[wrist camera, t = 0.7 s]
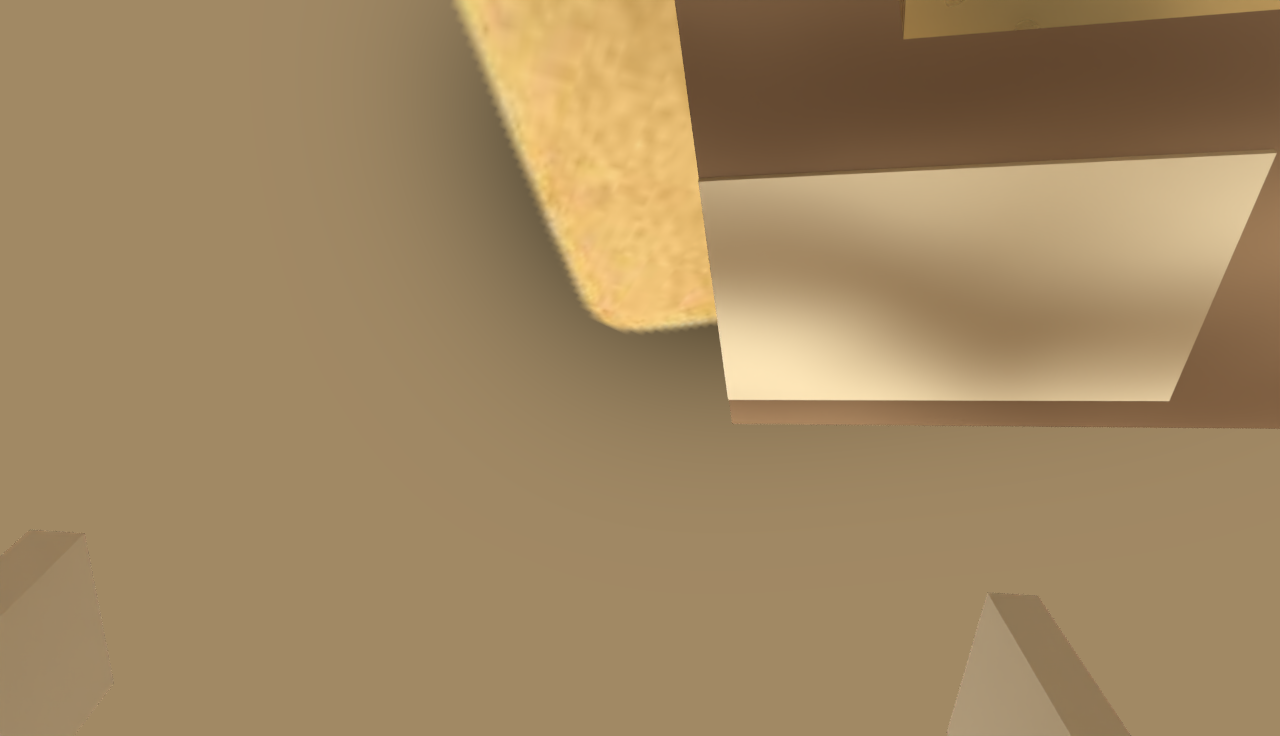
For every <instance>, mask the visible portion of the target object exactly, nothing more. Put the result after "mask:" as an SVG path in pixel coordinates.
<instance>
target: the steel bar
mask: <svg viewBox="0 0 1280 736" xmlns="http://www.w3.org/2000/svg"><path fill="white" fill-rule="evenodd" d="M899 5H900V13H901V22H902V31H903V39H913V38H926V37H939V36H951V35H964V34H976V33H989V32H1001V31H1014V30H1026V29H1039V28H1052V27H1064V26H1077V25H1089V24H1102V23H1114V22H1127V21H1139V20H1152V19H1164V18H1177V17H1190V16H1202V15H1215V14H1227V13H1240V12H1252V11H1265V10H1277V9H1280V0H899Z"/></svg>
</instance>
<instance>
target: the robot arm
mask: <svg viewBox="0 0 1280 736" xmlns="http://www.w3.org/2000/svg"><path fill="white" fill-rule="evenodd" d="M113 683H114V682H113V676H112V671H111V666H110V661H109V655H108V650H107V646H106V640H105V635H104V630H103V625H102V619H101V614H100V609H99V604H98V599H97V594H96V589H95V584H94V578H93V573H92V568H91V563H90V558H89V552H88V548H87V542H86V537H85V533H74V532H58V531H43V530H29V531H28V532H27V533H26V534H24V535H23V536H22V537H21V538H20V539H19V540H18V541H17V542H15V543H14V544H13V545H12V546H11V547H10V548H9V549H8V550H7V551H5V552H4V554H2V555H1V556H0V736H74V735H75V734H76V733H77V732H78V730H79V729H80V728H81V726H82V725H83V724H84V722H85V721H86V720H87V718H88V717H89V716H90V714H91V713H92V712H93V710H94V709H95V707H96V706H97V705H98V704H99V702H100V701H101V700H102V698H103V697H104V696H105V694H106V693H107V692H108V690H109V689H110V688H111V686H112V685H113ZM947 734H948V736H1131V735H1130V733H1129V732H1128V731H1127V729H1126V728H1125V726H1124V724H1123V723H1122V721H1121V720H1120V718H1119V717H1118V716H1117V714H1116V712H1115V711H1114V709H1113V708H1112V707H1111V705H1110V703H1109V702H1108V700H1107V699H1106V697H1105V696H1104V694H1103V693H1102V691H1101V690H1100V688H1099V687H1098V685H1097V684H1096V682H1095V681H1094V679H1093V678H1092V676H1091V675H1090V673H1089V672H1088V671H1087V669H1086V667H1085V666H1084V664H1083V663H1082V661H1081V660H1080V658H1079V657H1078V656H1077V654H1076V652H1075V651H1074V649H1073V648H1072V646H1071V645H1070V643H1069V642H1068V640H1067V639H1066V637H1065V636H1064V634H1063V633H1062V631H1061V630H1060V628H1059V627H1058V625H1057V624H1056V622H1055V621H1054V619H1053V618H1052V616H1051V615H1050V613H1049V612H1048V610H1047V609H1046V607H1045V606H1044V604H1043V603H1042V601H1041V600H1040V598H1039V597H1038V596H1033V595H1018V594H1003V593H987V596H986V599H985V603H984V606H983V609H982V613H981V616H980V620H979V623H978V627H977V631H976V634H975V637H974V640H973V644H972V647H971V651H970V654H969V658H968V662H967V665H966V668H965V671H964V675H963V678H962V682H961V685H960V689H959V692H958V696H957V699H956V702H955V706H954V709H953V713H952V717H951V720H950V723H949V727H948V730H947Z"/></svg>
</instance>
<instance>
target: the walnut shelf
mask: <svg viewBox="0 0 1280 736" xmlns="http://www.w3.org/2000/svg"><path fill="white" fill-rule="evenodd" d="M675 5H676V13H677V20H678V27H679V35H680V42H681V50H682V57H683V64H684V72H685V79H686V86H687V94H688V101H689V109H690V116H691V123H692V131H693V138H694V145H695V153H696V160H697V168H698V175H699V181H698V182H699V190H700V197H701V204H702V212H703V219H704V226H705V234H706V241H707V248H708V256H709V263H710V270H711V278H712V285H713V292H714V299H715V307H716V314H717V321H718V329H719V336H720V343H721V350H722V358H723V365H724V373H725V379H726V387H727V395H728V400H729V404H730V411H731V418H732V424H810V425H815V424H817V425H820V424H821V425H923V426H931V425H932V426H1039V427H1041V426H1042V427H1154V428H1157V427H1158V428H1161V427H1162V428H1269V429H1270V428H1271V429H1275V428H1276V429H1280V9H1277V10H1265V11H1252V12H1240V13H1227V14H1215V15H1202V16H1190V17H1177V18H1164V19H1152V20H1139V21H1127V22H1114V23H1102V24H1089V25H1077V26H1064V27H1052V28H1039V29H1026V30H1014V31H1001V32H989V33H976V34H964V35H951V36H939V37H926V38H913V39H903V31H902V22H901V13H900V5H899V0H675Z"/></svg>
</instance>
